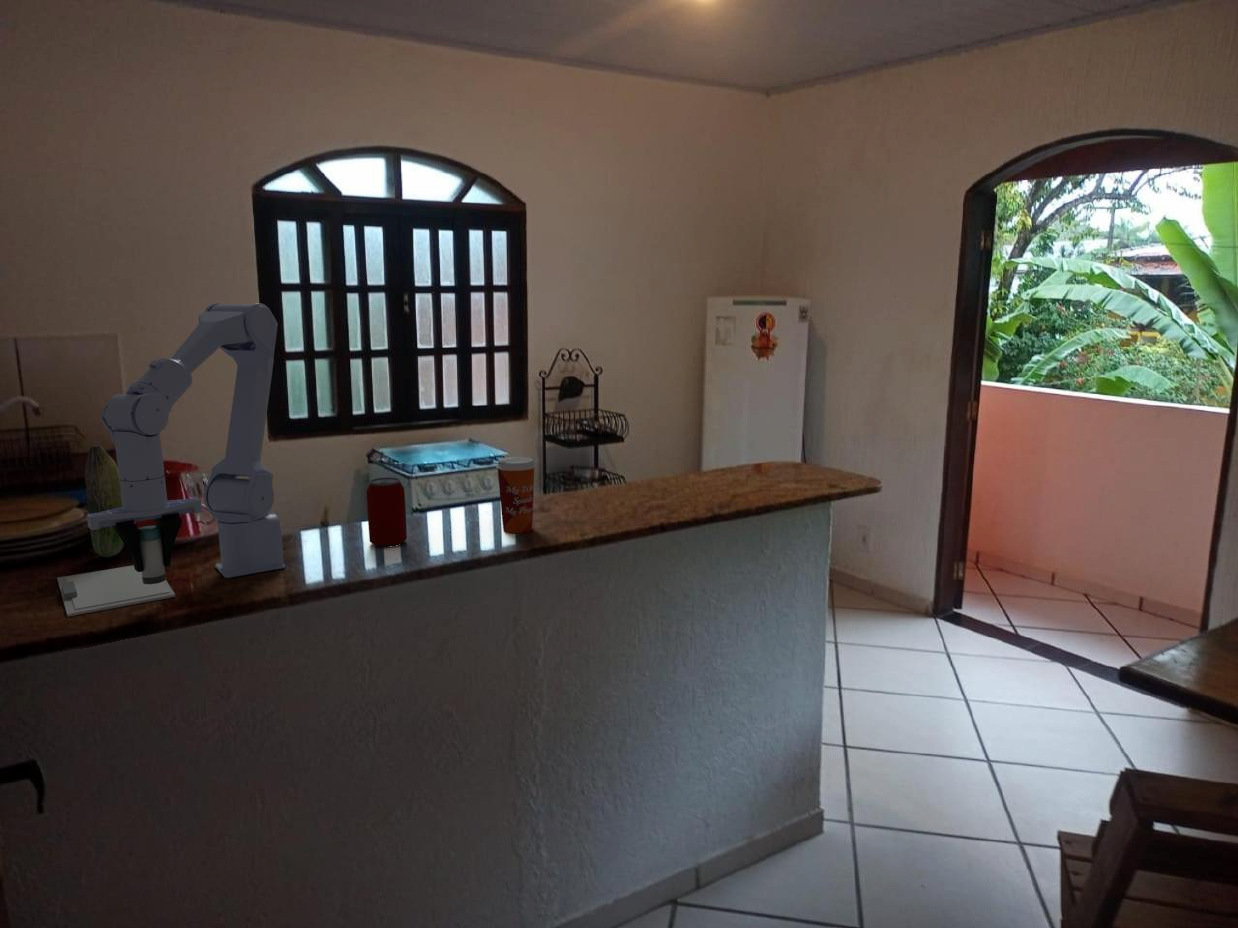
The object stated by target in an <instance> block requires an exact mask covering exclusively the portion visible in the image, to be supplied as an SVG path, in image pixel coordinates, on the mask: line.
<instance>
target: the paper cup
mask: <svg viewBox="0 0 1238 928" xmlns="http://www.w3.org/2000/svg"><path fill="white" fill-rule="evenodd" d="M536 467H537V465H536V464H535V460H534V459H533V458H531V457H526V456H510V457H509V456H508V457H503V458H500V459H498V460H497V465H495V469H497V477H498V488H499V489H498V490H499V500H500V510H501V520H502V530H503V532H504V533H506V534H509V535H510V534H511V535H512V534H513V535H518V534H519V535H521V534H527V533H529V532H532V529H533V518H534V517H533V516H534V515H533V514H534V511H533V510H534V492H535V491H534V488H535V487H534V485H535V468H536Z"/></svg>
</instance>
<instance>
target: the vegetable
mask: <svg viewBox="0 0 1238 928" xmlns="http://www.w3.org/2000/svg"><path fill="white" fill-rule="evenodd" d="M84 480H85V490H86V491H85V492H86V493H85V494H86V501H87V502H86V504H87V512H88V514H93V513H98V512H103V511H107V510H111V509H116V508H120V507H123V505H122V496H121V488H120V480H119V472H118V464H117V462H116V461H115V460H114V459H113V458H112V457H111V456H110V454H109V453H108V452H107V451H106V449H105V448H104V447H103V446H102V445H100V444H99V445H98V444H93V445H92V446H90V447H89V448H88V453H87V457H86V463H85V468H84ZM89 531H90V539H91V544H92V547H93V550H94V552H95V553H96V554H98V556H100V557H103V558H112V557H114V556H116V555H118V554H119V553H120V552H121V551H122V550H123V548H124V546H125V544H124V543H123V541H122V539H121V538H120V536H119V535H118V534H117V532H116V531H115V529H114V528H113V526H107V527H101V528H100V529H96V530H91V529H90V528H89Z"/></svg>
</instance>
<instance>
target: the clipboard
mask: <svg viewBox="0 0 1238 928" xmlns="http://www.w3.org/2000/svg"><path fill="white" fill-rule="evenodd" d="M57 583H58V587H59V590H60V593H61V594H60V595H61V598H62V602H63V606H64V608H65V613H66V617H67V618H69V617H73V616H79V615H84V614H89V613H95V612H100V611H106V610H112V609H116V608H117V609H118V608H122V607H126V606H127V607H128V606H132V605H138V604H142V603H143V604H144V603H149V602H150V603H151V602H154V601H159V600H165V599H170V598H171V599H172V598H176V593H175V592H174V590H173V588H172V587H171V585H170V584H169V582H168V580H167V579H166V580H165V581H163V582H161V583H157V584H143V581H142V573H141V572H137V571H136V570H135V568H134V565H133V564H132V565H128V566H127V565H126V566H122V567H116V568H110V569H102V570H95V571H91V572H86V573H85V572H83V573H79V574H72V575H66V576H65V575H64V576H60V577H57Z"/></svg>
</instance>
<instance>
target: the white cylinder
mask: <svg viewBox="0 0 1238 928" xmlns="http://www.w3.org/2000/svg"><path fill="white" fill-rule="evenodd" d="M137 528H138V529H139V530H140V549H141V556H142V561H143V570H144V571H143V572H141V573H142V581H143V584H157V583H161V582H163V581H165V580H166V581H167V578H166V570H165V566H164V560H163V551H162V542H161V533H160V527H159V526H156V525H148V526H141V527H137Z"/></svg>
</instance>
